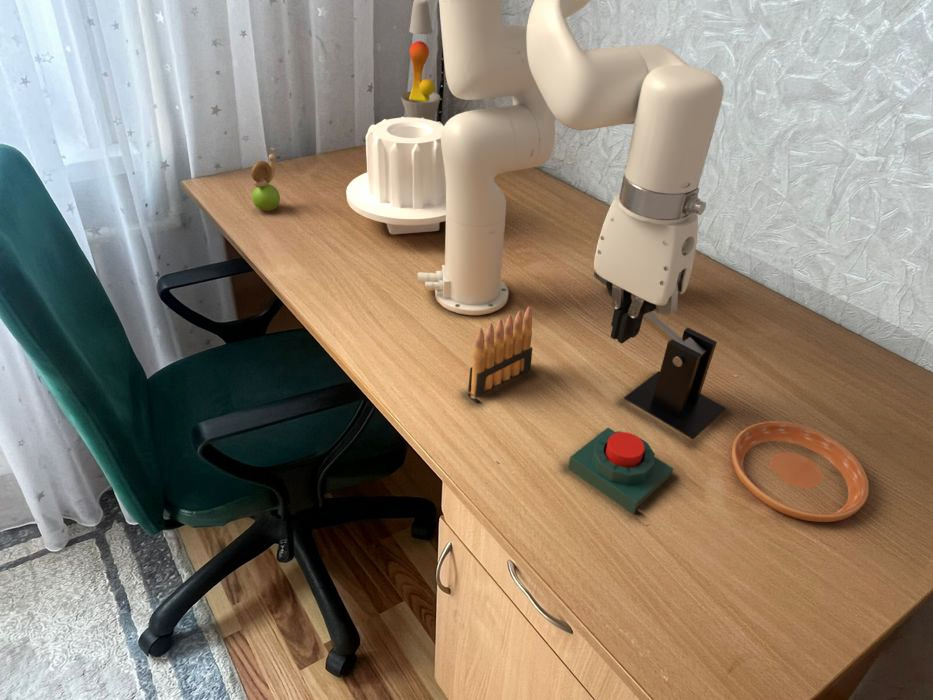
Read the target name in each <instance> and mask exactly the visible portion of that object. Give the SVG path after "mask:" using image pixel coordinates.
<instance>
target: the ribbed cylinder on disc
mask: <svg viewBox="0 0 933 700" xmlns="http://www.w3.org/2000/svg"><path fill="white" fill-rule="evenodd" d="M443 127H444V124H443V122H441V121H435V120H433V121H432V120H428V119H424V118H423V117H422V118H409V117H408V116H406V117H405V116H401V117H394V118H389V119H386V118H384V119H383V120H381V121H379V122H377V123H376V124H371V125H370V126H369V127H368V129H367V133H366V135H365V154H366V155H365V156H366V172H364V173H362V174H360V175H358V176H356V177H355V178H354V179H352V180H351V181H350V182H349V184H348V185H347V187H346V201H347V204H348V206H349V207H350V208H351V210H353V211H355V213H357V214H359V215H360V216H362V217H364V218H367V219H370V220H372V221H375V222H379V223H384V224H386V227H387V231H388V232H389V234H391V235H405V234H418V233H431V232H438V231H440V223H442V222H446V177H445V168H444V161H443V155H442V148H441V133H442V130H443Z"/></svg>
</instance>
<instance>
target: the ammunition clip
mask: <svg viewBox="0 0 933 700" xmlns="http://www.w3.org/2000/svg"><path fill="white" fill-rule="evenodd" d="M532 323H533V312H532V307H531V306H529V305H528V306H527V308H526V310H525V313H524V316H523V314H522V311H521V310H518V312H517V313H516V316H515V319H514V320H513V316H512V315H511V314H509V315H508V317H507V318H506V321H505V324H504V322H503V319H501V318H500V319H498V321H497V324H496V327H495V328H494V325H493V323H489V325H488V327H487V328H486V331H485V332H486V334H485V333H484V330H483V328H482V327H480V328H479V330H478V331H477V333H476V338H475V345H474V350H473V354H472V355H473V356H472V366H471V367H470V368H469V377H468V388H467V397H468V398H469V399H471V400H472V401H473V402H474V403H479V402H480V400H479V399H478V397H481V396H482V395H484V394H486V393H488V392H491V391H492V390H494V389H496V388H497V387H500V386H501V385H503V384H505V383H508V382H509V381H512V380H514V379H516V378H517V377H519V376H521V375H523V374H525V373H526V372H528V371H530V370H531V368H532V360H533V359H532V358H533V347H532V346H531V345H532V339H533V337H532V336H533V328H532V327H533V324H532ZM504 325H505V326H504ZM473 395H474V396H473Z"/></svg>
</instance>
